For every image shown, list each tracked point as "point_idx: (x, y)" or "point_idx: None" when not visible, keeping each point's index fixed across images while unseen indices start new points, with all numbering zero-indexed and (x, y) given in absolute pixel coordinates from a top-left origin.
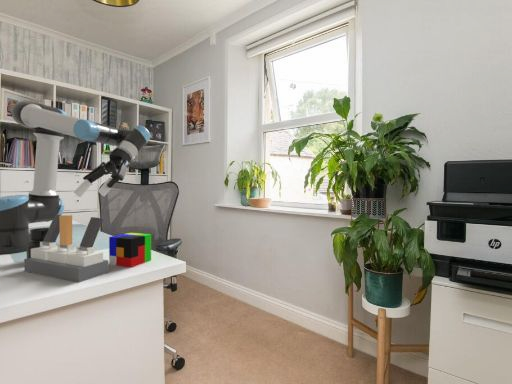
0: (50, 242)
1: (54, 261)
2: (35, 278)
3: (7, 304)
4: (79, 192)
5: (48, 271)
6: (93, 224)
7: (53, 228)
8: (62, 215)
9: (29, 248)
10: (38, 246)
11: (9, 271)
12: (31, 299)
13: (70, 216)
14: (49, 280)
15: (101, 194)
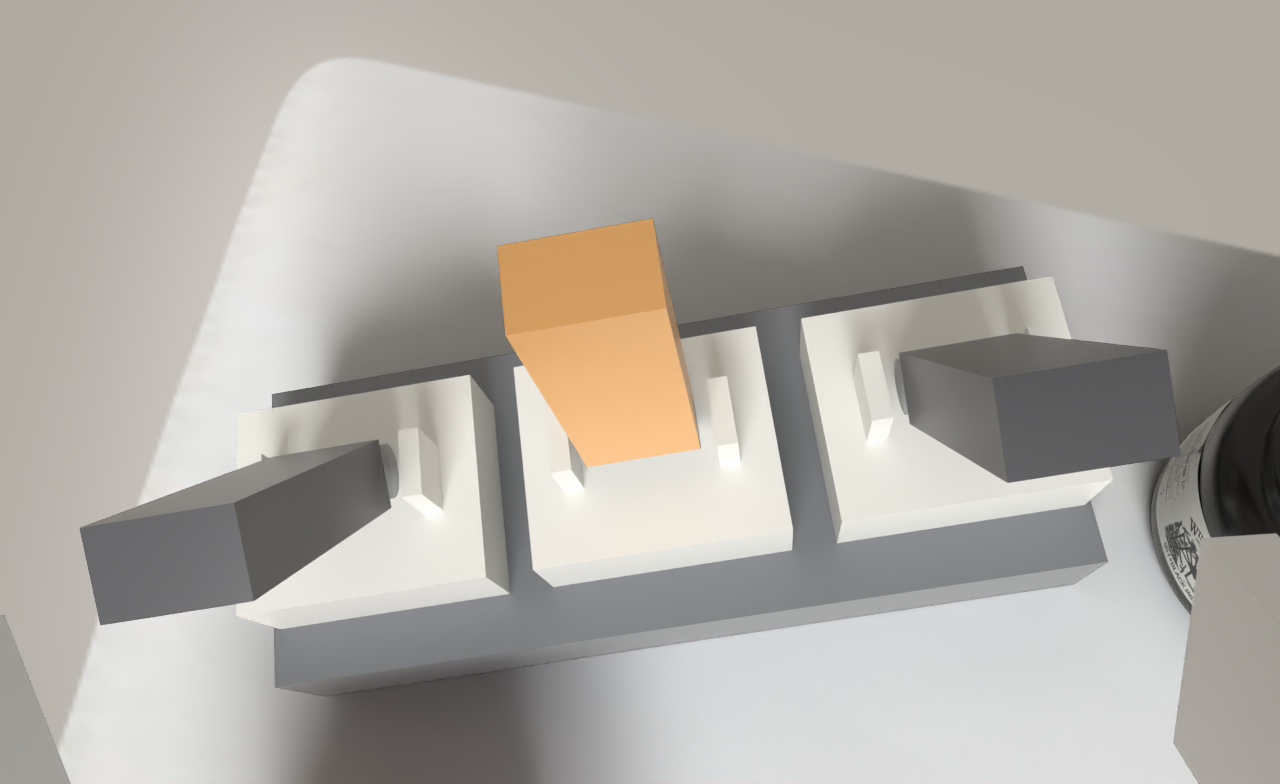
0: (901, 371)
1: None
2: (694, 294)
3: (329, 61)
4: (1233, 703)
5: None
6: (177, 497)
7: (971, 358)
8: (622, 247)
9: None
10: (1240, 407)
11: (1097, 246)
12: (288, 147)
13: (506, 316)
14: None
15: (41, 739)
